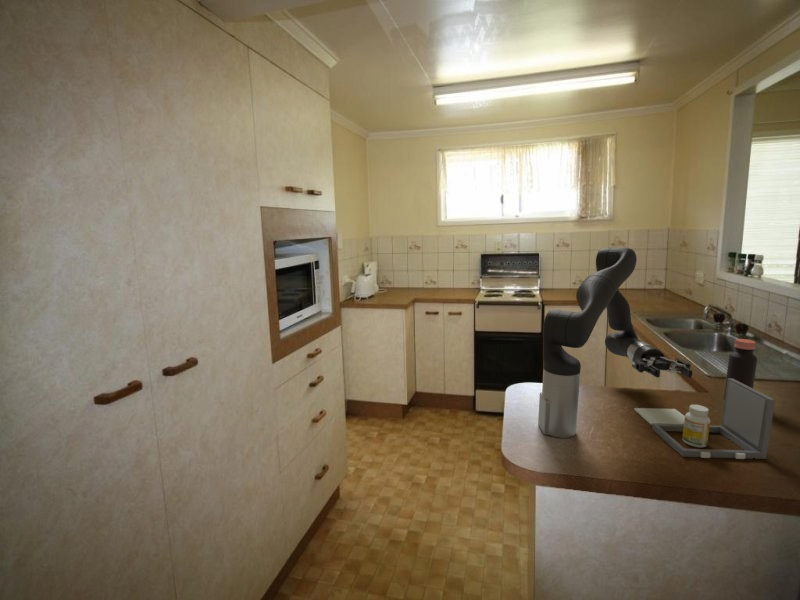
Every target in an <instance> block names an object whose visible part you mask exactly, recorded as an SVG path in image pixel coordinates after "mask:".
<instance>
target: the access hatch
mask: <svg viewBox="0 0 800 600" xmlns="http://www.w3.org/2000/svg"><path fill="white" fill-rule="evenodd" d="M775 404H776V399H774V398H772V397H770V396H769V395H767V394H764V393H762V392H761V391H759V390H757V389H755V388H754V387H753V388H751V387H749V386H747V385H745V384H743V383H741V382H739V381H737V380H735V379H733V378H728V380H727V387H726V395H725V400H724V404H723V411H722V417H721V423H720V425H712V424H710V428H709V433H718V434H721V435H722V436H723V437H725V438H726V437H727V438H726V439H728V440H729V439H730V440H729V441H731V442H732V441H733V442H734V445H736V444H737V446H738V447H739V446H740V447H739V448H741V449H738V450H737V449H709V448H708V449H704V448H703V449H702V448H701V449H700V448H685V447H684V446H682V445H681V444H680V443H679V442H678V441H677V440H676V439H675V438H673V437H672V436H671V435H670V434H669V433H667V432H681V433H683V429H684V425H675V424H653V425H651V429H652V430H653V431H654V433H656V434H657V435H658V436H659V437H660V438H661V439H662V440H663V441H665V442H666V443H667V444H668V445H669V446H670V447H671V448H673V450H675V451H676V452H677V453H678V454H679V455H680V456H681V457H683V458H684V457H687V458H701V459H703V458H704V459H711V458H716V459H717V458H719V459H720V458H721V459H726V458H727V459H737V460H745V459H753V458H755V459H756V460H757V459H758V460H760V459H762V460H766V459H767V454H768V447H769V441H770V436H771V429H772V423H773V416H774V410H775ZM733 442H732V443H733ZM743 449H744V450H743Z"/></svg>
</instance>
